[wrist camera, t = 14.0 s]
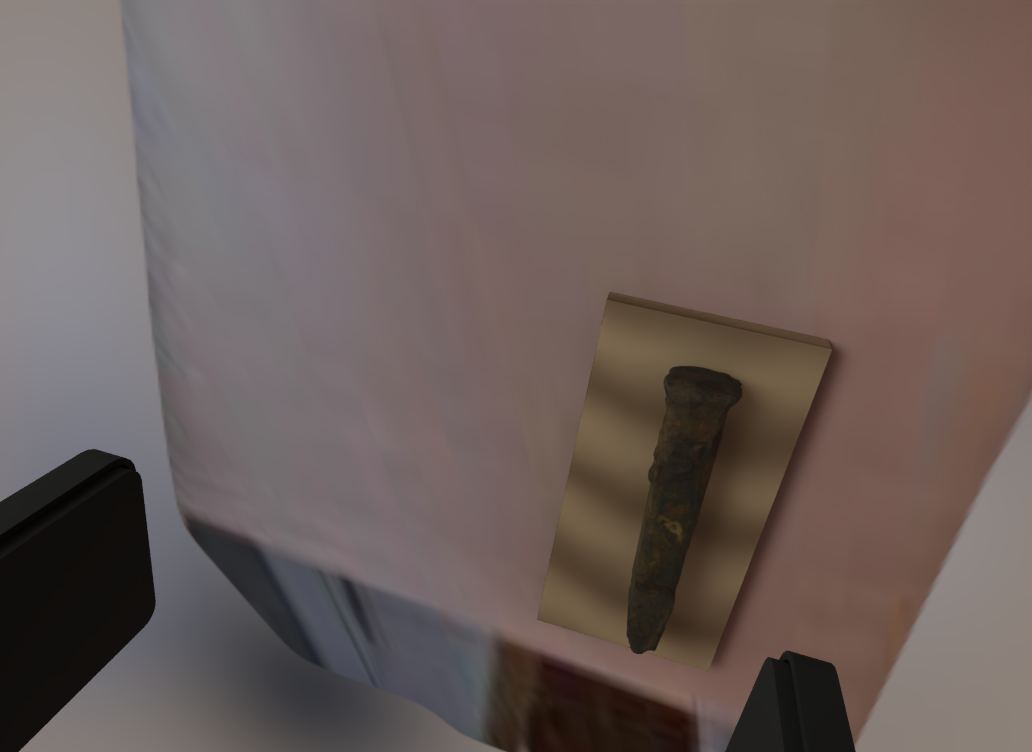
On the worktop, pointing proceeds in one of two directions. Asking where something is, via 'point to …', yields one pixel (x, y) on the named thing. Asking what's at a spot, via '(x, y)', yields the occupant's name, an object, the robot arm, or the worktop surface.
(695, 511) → the hand tool
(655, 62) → the worktop surface
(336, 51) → the worktop surface
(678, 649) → the board
